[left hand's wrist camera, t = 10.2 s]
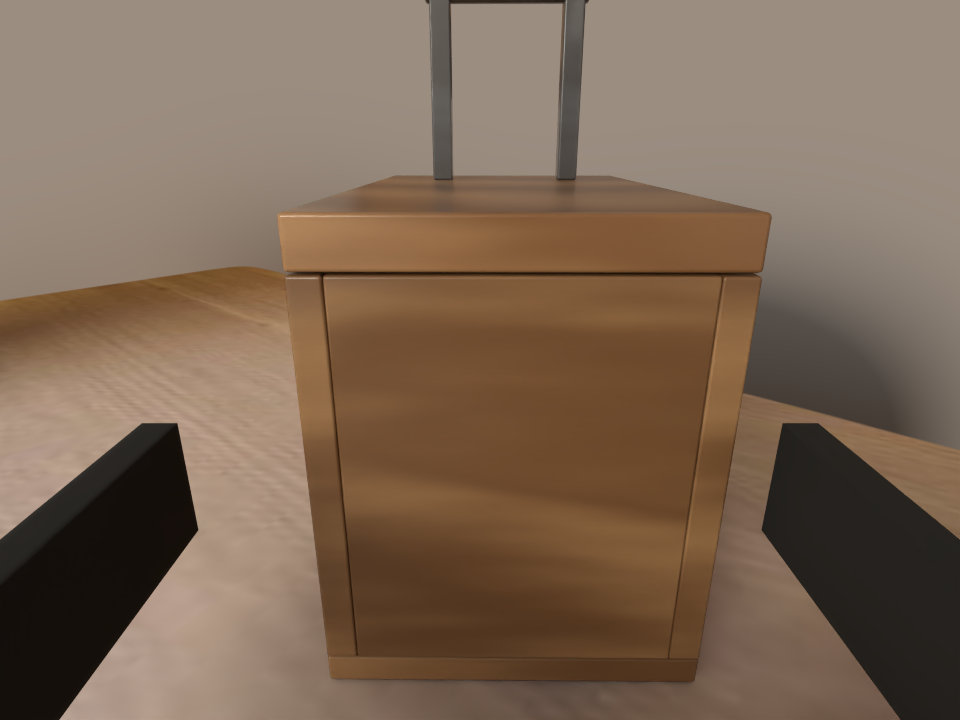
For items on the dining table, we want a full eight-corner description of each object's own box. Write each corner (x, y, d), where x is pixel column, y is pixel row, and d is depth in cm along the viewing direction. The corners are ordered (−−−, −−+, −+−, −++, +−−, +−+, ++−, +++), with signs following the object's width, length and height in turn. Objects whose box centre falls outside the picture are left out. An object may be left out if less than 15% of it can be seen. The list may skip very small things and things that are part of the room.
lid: (394, 203, 25) (384, -22, 23) (609, 203, 25) (625, -23, 23) (282, 273, 11) (215, -303, 8) (764, 273, 11) (861, -307, 8)
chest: (403, 426, 28) (392, 205, 25) (595, 427, 28) (612, 205, 25) (329, 679, 15) (282, 275, 11) (694, 682, 15) (763, 276, 11)
